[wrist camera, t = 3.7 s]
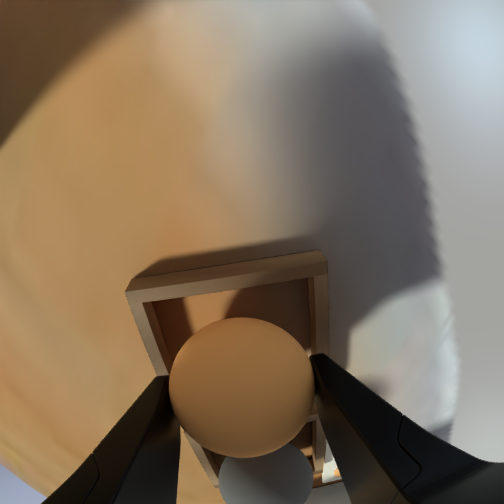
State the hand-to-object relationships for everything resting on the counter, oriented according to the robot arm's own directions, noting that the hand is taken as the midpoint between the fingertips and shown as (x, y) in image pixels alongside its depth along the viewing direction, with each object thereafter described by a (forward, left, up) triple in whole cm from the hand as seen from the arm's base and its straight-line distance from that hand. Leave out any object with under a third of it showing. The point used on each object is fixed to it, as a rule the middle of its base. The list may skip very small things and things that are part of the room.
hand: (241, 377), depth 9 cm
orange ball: (0, 0, -2) cm, 2 cm away
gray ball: (-6, 0, -2) cm, 7 cm away
